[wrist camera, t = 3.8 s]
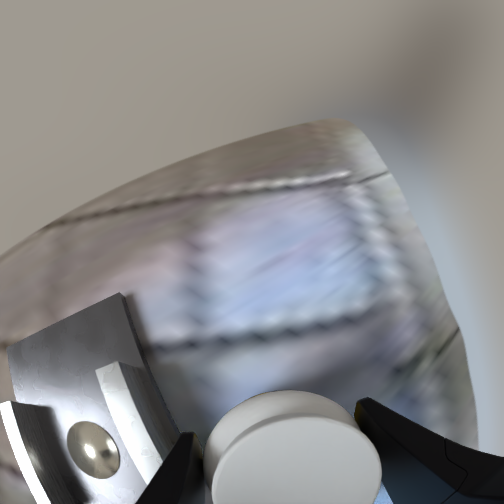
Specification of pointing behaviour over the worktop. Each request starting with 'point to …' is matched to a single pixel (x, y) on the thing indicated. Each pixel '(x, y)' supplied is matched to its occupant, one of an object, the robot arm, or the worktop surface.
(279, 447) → the supplement bottle
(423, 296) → the worktop surface
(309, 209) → the worktop surface
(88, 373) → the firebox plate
